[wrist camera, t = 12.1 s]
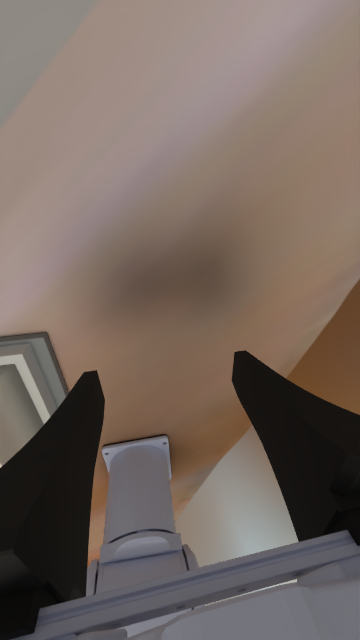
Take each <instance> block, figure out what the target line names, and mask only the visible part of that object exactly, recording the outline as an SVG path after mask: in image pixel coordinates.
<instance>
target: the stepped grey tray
mask: <svg viewBox="0 0 360 640" xmlns="http://www.w3.org/2000/svg"><path fill="white" fill-rule="evenodd" d="M7 364H15V366H16V368H17V370H18V372H19V374H20V377H21V379H22V381H23V383H24V385H25V387H26V389H27V391H28V393H29V395H30V397H31V399H32V401H33V403H34V405H35V407H36V410H37V412H38V414H39V416H40V418H41V420H42V422H43V424H45V423H46V422H47V420H48V419H49V418H50V417H51V416H52V414H53V413H54V412H55V411H56V410H57V408H58V407H59V406H60V404H61V403H62V402H63V400H64V399H65V398H66V397H67V395H68V394H69V392H68V390H67V387H66V384H65V381H64V379H63V376H62V373H61V370H60V368H59V365H58V362H57V360H56V357H55V354H54V351H53V349H52V346H51V343H50V340H49V338H48V335H47V332H45V333H36V334H27V335H18V336H9V337H0V365H7Z"/></svg>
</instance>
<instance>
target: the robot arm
mask: <svg viewBox="0 0 360 640" xmlns="http://www.w3.org/2000/svg"><path fill="white" fill-rule="evenodd" d="M232 382H233V385H234V388H235V391H236V393H237V396H238V398H239V400H240V402H241V404H242V406H243V408H244V409H245V411H246V413H247V415H248V417H249V419H250V421H251V423H252V424H253V426H254V428H255V430H256V432H257V434H258V436H259V438H260V440H261V442H262V444H263V446H264V449H265V451H266V454H267V456H268V459H269V461H270V463H271V466H272V468H273V471H274V473H275V476H276V479H277V481H278V484H279V486H280V489H281V492H282V495H283V497H284V500H285V503H286V506H287V508H288V511H289V514H290V517H291V520H292V523H293V526H294V529H295V532H296V535H297V538H298V541H299V542H298V543H294V544H290V545H286V546H282V547H278V548H274V549H270V550H266V551H262V552H259V553H255V554H251V555H247V556H243V557H239V558H235V559H231V560H227V561H223V562H219V563H216V564H212V565H208V566H204V567H200V568H199V566H198V562H197V559H196V557H195V554H194V553H193V552H192V551H191V549H190V548H189V546H188V545H187V544H186V545H182V542H181V535H180V533H176V529H175V521H174V512H173V504H172V496H171V488H170V479H171V478H172V475H171V464H170V453H169V442H168V437H167V436H160V437H154V438H148V439H142V440H137V441H131V442H125V443H120V444H114V445H108V446H104V447H103V448H102V454H103V457H104V460H105V463H106V466H107V469H108V472H109V481H108V492H107V504H106V515H105V526H104V537H103V545H102V546H101V550H100V561H99V560H98V559H94V560H92V561H91V564H90V565H89V566H88V568H87V561H88V542H89V526H90V512H91V499H92V488H93V477H94V469H95V463H96V458H97V452H98V447H99V441H100V436H101V431H102V425H103V419H104V404H105V399H104V395H103V391H102V388H101V384H100V380H99V376H98V373H97V370H96V371H89V372H84V373H83V374H82V376H81V377H80V378H79V380H78V381H77V383H76V384H75V386H74V387H73V388H72V390H71V391H70V392H69V394H68V395H67V397H66V398H65V399H64V400H63V402H62V403H61V404H60V406H59V407H58V408H57V410H56V411H55V412H54V413H53V414H52V416H51V417H50V418H49V419H48V420H47V422H46V423H45V424H44V425H43V426H42V427H41V428H40V430H39V431H38V432H37V433H36V434H35V435H34V436H33V437H32V438H31V439H30V440H29V441H28V442H27V443H26V444H25V445H24V446H23V447H22V448H21V449H20V450H19V451H18V452H17V453H16V454H15V455H14V456H13V457H12V458H11V459H9V460H8V461H7V462H6V463H5V464H4V465H3V466H2V467H1V468H0V640H360V415H358V414H355V413H353V412H350V411H348V410H346V409H343V408H341V407H338V406H336V405H334V404H332V403H330V402H327V401H325V400H323V399H321V398H319V397H317V396H315V395H313V394H311V393H309V392H308V391H306V390H304V389H302V388H300V387H299V386H297V385H295V384H294V383H292V382H290V381H289V380H287V379H286V378H284V377H283V376H281V375H279V374H278V373H276V372H275V371H274V370H272V369H271V368H269V367H268V366H266V365H265V364H264V363H262V362H261V361H260V360H258V359H257V358H255V357H254V356H253V355H251V354H250V353H248V352H247V351H238V352H235V354H234V364H233V373H232ZM294 579H297V583H290V584H284V585H279V586H276V587H272V588H269V589H265V590H261V591H258V592H255V593H251V594H247V595H244V596H240V597H237V598H233V599H229V600H226V601H222V602H218V603H215V604H211V605H208V606H205V604H208V603H211V602H215V601H219V600H222V599H226V598H229V597H233V596H237V595H240V594H244V593H247V592H251V591H254V590H258V589H261V588H265V587H269V586H272V585H276V584H279V583H283V582H287V581H290V580H294Z"/></svg>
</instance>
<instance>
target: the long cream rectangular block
mask: <svg viewBox="0 0 360 640" xmlns="http://www.w3.org/2000/svg"><path fill="white" fill-rule="evenodd" d="M43 425H44V424H43V422H42V420H41V418H40V416H39V414H38V412H37V410H36V407H35V405H34V403H33V401H32V399H31V397H30V395H29V393H28V391H27V389H26V387H25V385H24V383H23V381H22V379H21V377H20V374H19V372H18V370H17V368H16V366H15V364H7V365H0V468H1V467H2V466H3V465H4V464H5V463H6V462H7V461H8V460H9V459H11V458H12V457H13V456H14V455H15V454H16V453H17V452H18V451H19V450H20V449H21V448H22V447H23V446H24V445H25V444H26V443H27V442H28V441H29V440H30V439H31V438H32V437H33V436H34V435H35V434H36V433H37V432H38V431H39V430H40V428H41V427H42V426H43Z"/></svg>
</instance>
